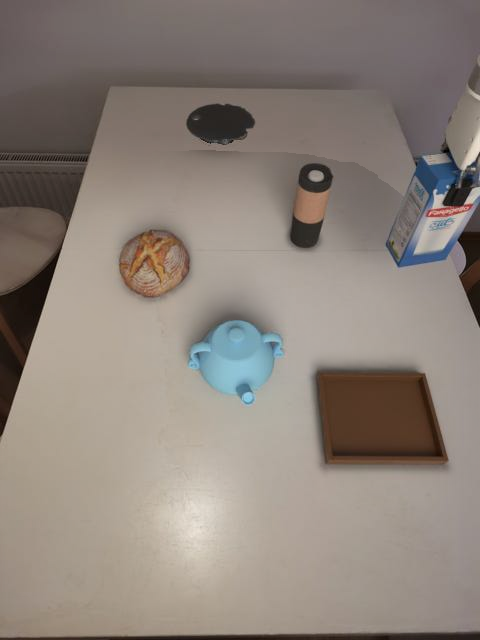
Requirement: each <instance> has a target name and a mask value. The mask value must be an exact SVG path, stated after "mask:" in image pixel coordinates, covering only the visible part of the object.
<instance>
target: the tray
mask: <svg viewBox="0 0 480 640" xmlns="http://www.w3.org/2000/svg"><path fill="white" fill-rule="evenodd" d="M316 385H317V395H318V405H319V414H320V422H321V432H322V441H323V450H324V458H325V465H332V466H333V465H337V466H338V465H339V466H341V465H344V466H345V465H346V466H347V465H349V466H351V465H352V466H353V465H355V466H356V465H358V466H359V465H363V466H365V465H366V466H368V465H369V466H377V465H378V466H445V464H447V463H449V457H448V453H447V449H446V445H445V442H444V438H443V435H442V431H441V427H440V423H439V419H438V417H437V412H436V408H435V404H434V401H433V398H432V397H433V396H432V394H431V390H430V386H429V383H428V378H427V375H426V373H425V372H336V371H335V372H334V371H333V372H331V371H329V372H328V371H327V372H325V371H324V372H323V371H318V373H317V376H316Z"/></svg>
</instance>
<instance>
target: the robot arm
mask: <svg viewBox="0 0 480 640" xmlns="http://www.w3.org/2000/svg"><path fill="white" fill-rule="evenodd" d="M447 152H451V154H452V156H453V158H454V161H455V163H456V165H457V166H458V168H459V170H458V174H457V179H456V183H455V184H452V185H451V187H450V189H449V191H448V193H447V195H446V197H445V199H444V201H443V205H444V206H451V207H461V206H463V205H464V203H465V202H466V200H467V198H468V196H469V194H470V193H471V191H472V189H475V188H476V187H479V186H480V53H479V54H478V56H477V59H476V61H475V63H474V66H473V68H472V70H471V72H470V74H469V76H468V80H467V82H466V84H465V89H464V91H463V92H462V94H461V96H460V98H459V100H458V103H457V104H456V106H455V108H454V110H453V112H452V115H451V116H449V118H448V123H447V127H446V129H445V133H444V142H443V143H442V144H441V146H440V153H447ZM473 162H476V165H475V166H467V165H470V164H472V163H473ZM465 171H473V173H472V177H471V178H467V179H464V175H465ZM463 179H464V180H463Z"/></svg>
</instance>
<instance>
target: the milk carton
mask: <svg viewBox="0 0 480 640" xmlns="http://www.w3.org/2000/svg"><path fill="white" fill-rule="evenodd" d="M475 165H476V162H473V163H472V164H470V165H467V166H475ZM458 170H459V168H458V166H457V165H456V163H455V161H454V158H453V156H452V154H451V152H447V153H443V152H439V153H433V154H425V155H420V157H419V159H418V163H417V165H416V167H415V170H414V172H413V174H412V177H411V179H410V182H409V185H408V187H407V189H406V192H405V195H404V197H403V200H402V202H401V204H400V207H399V210H398V211H397V214H396V216H395V220H394V222H393V225H392V227H391V229H390V232H389V234H388V237H387V239H386V242H385V244H384V245H385V247H386V248H387V250H388V252H389V254H390V256H391V258H392V259H393V261H394V263H395V265H396V267H397V268H404V267H405V268H406V267H411V266H418V265H424V264H430V263H435V262H441V261H446V260H447V258H448V257H449V255H450V254H451V251H452V250H453V248H454V246H455V245H456V243H457V241H458V240H459V238H460V236H461V234H462V233H463V232H464V229H465V228H466V226H467V224H468V223H469V222H470V221H469V220H470V219H471V218H472V216H473V214H474V212H475V210H476V209H477V207H478V205H479V204H480V186H479V187H476V188H475V189H472V191H471V193H470V194H469V196H468V198H467V200H466V202H465V203H464V205H463V206H461V207H451V206H444V205H443V201H444V199H445V197H446V195H447V193H448V191H449V189H450V187H451V185H452V184H455V183H456V179H457V174H458ZM472 173H473V171H465V175H464V179H467V178H471V177H472ZM464 179H463V180H464Z"/></svg>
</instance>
